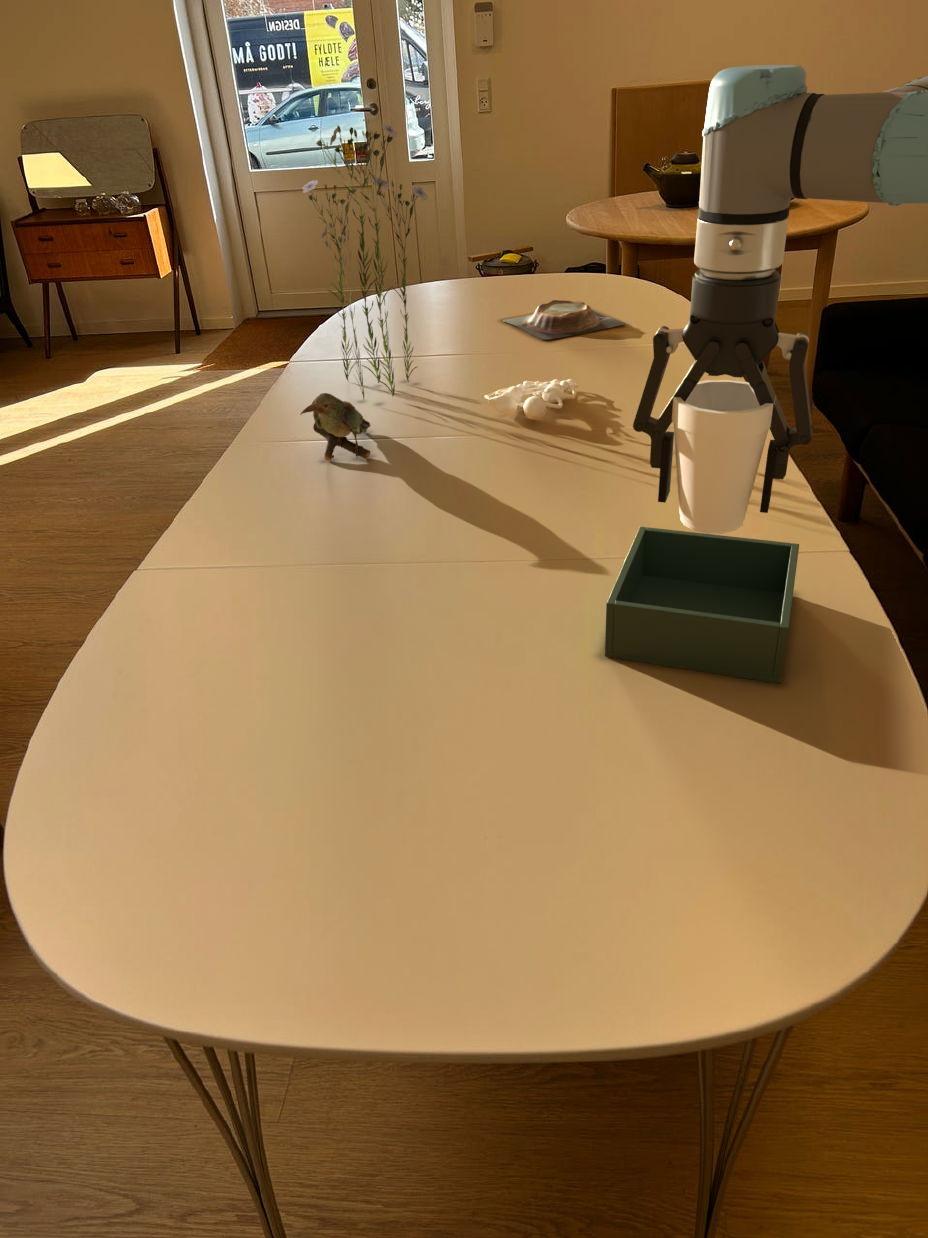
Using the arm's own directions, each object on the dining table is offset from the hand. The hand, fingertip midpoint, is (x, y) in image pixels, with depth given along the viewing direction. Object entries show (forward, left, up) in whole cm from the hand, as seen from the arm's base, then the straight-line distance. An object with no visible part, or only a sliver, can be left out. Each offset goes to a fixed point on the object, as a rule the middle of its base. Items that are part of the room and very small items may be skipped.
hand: (713, 501), depth 94 cm
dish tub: (0, 0, -15) cm, 15 cm away
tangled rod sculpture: (+38, -63, -15) cm, 75 cm away
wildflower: (+68, -65, -15) cm, 95 cm away
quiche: (+46, -115, -15) cm, 125 cm away
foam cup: (0, 0, -2) cm, 2 cm away
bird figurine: (+61, -35, -15) cm, 72 cm away
